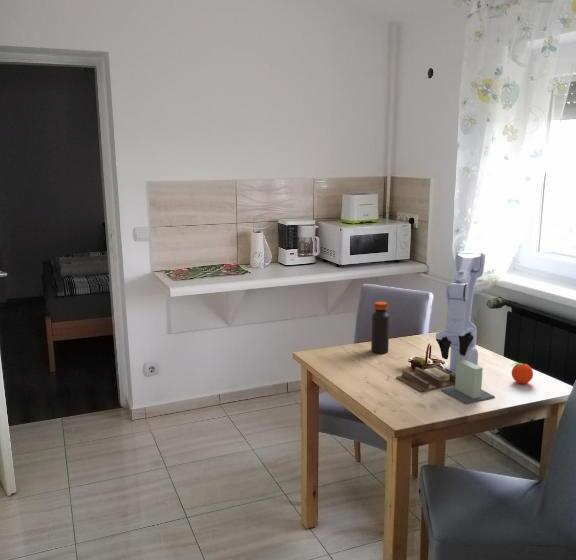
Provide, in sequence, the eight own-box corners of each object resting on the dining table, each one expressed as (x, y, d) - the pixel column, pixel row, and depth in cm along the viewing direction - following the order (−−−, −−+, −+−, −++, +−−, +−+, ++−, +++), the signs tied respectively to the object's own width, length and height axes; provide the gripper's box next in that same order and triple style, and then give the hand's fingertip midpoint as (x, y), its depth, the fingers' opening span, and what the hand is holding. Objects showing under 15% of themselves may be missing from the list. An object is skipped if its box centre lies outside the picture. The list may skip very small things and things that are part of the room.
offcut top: (435, 370, 215) (435, 367, 214) (449, 377, 208) (449, 374, 207) (423, 372, 213) (423, 369, 212) (437, 379, 206) (438, 377, 205)
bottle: (380, 355, 235) (382, 306, 231) (367, 351, 240) (368, 302, 235) (391, 351, 239) (393, 303, 235) (378, 347, 244) (379, 300, 240)
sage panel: (462, 387, 202) (463, 359, 200) (480, 396, 194) (482, 367, 192) (455, 388, 201) (456, 360, 199) (473, 398, 193) (475, 369, 191)
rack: (432, 370, 218) (433, 364, 218) (458, 384, 206) (458, 377, 205) (396, 378, 212) (396, 371, 211) (420, 392, 199) (420, 384, 199)
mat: (469, 384, 205) (469, 383, 205) (494, 397, 195) (494, 396, 194) (441, 390, 200) (441, 389, 200) (465, 404, 190) (465, 402, 190)
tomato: (505, 383, 206) (507, 364, 204) (509, 377, 212) (511, 358, 210) (530, 388, 202) (532, 368, 200) (533, 381, 208) (535, 362, 206)
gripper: (446, 323, 193) (444, 363, 196) (481, 318, 199) (478, 357, 202) (432, 318, 200) (430, 357, 202) (466, 313, 206) (464, 350, 209)
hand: (453, 356), depth 203 cm, fingers open, 7 cm apart
